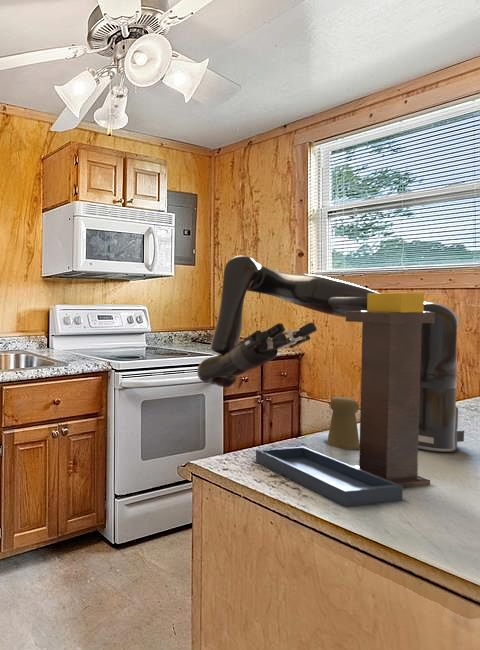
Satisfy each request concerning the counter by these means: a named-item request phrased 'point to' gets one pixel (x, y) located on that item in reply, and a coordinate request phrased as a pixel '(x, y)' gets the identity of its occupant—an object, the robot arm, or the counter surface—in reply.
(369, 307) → the sponge brush
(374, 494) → the tray
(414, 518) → the counter surface
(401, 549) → the counter surface
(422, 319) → the wooden pedestal stand
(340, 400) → the cork
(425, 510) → the counter surface
